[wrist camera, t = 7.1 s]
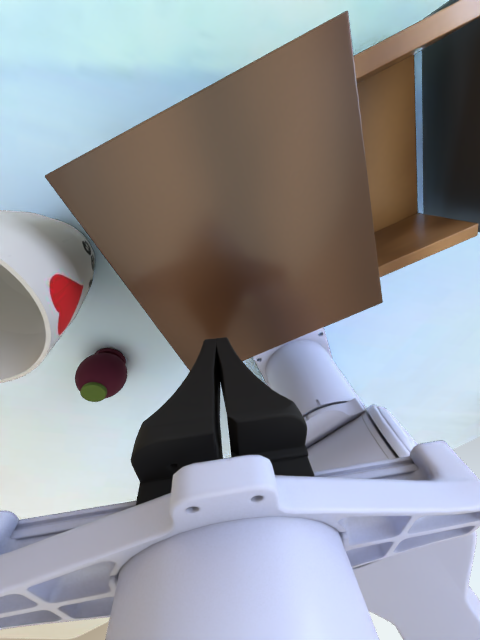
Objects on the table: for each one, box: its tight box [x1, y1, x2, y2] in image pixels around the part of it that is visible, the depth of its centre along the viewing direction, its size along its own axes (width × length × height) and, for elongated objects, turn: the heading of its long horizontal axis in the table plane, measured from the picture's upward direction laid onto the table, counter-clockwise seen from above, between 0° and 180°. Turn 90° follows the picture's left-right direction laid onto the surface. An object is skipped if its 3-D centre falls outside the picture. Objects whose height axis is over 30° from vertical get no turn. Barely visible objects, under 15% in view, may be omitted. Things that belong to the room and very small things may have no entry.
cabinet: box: [45, 11, 382, 371], centre depth 16 cm, size 13×13×8 cm
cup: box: [0, 210, 95, 383], centre depth 15 cm, size 8×8×10 cm
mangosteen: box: [75, 348, 127, 402], centre depth 23 cm, size 4×4×4 cm
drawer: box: [353, 0, 480, 277], centre depth 15 cm, size 17×12×6 cm
